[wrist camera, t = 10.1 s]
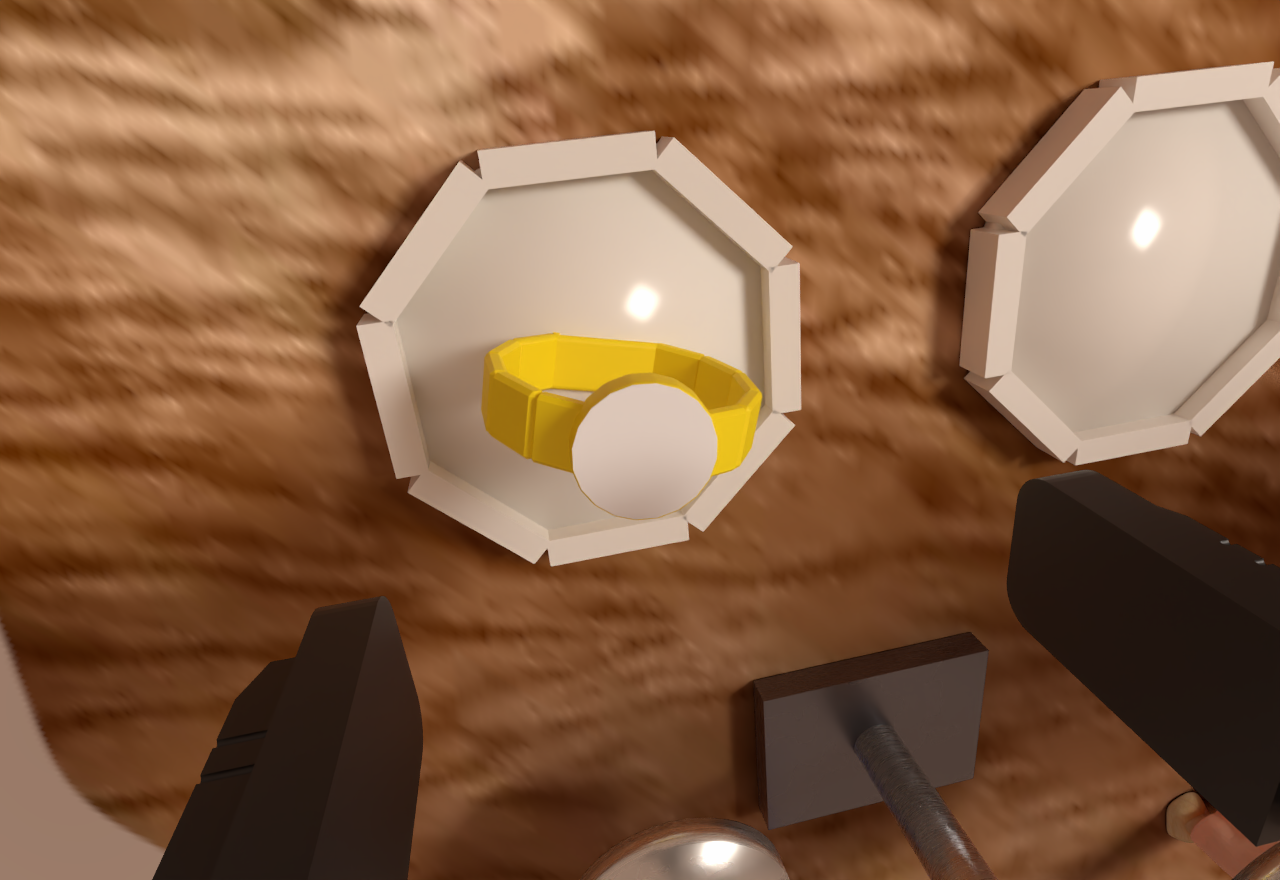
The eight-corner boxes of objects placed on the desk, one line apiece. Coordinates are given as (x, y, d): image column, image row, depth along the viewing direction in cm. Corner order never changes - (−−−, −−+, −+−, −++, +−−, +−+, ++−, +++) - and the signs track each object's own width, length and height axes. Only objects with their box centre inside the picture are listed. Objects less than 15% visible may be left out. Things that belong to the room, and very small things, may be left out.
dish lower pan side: (778, 115, 18) (797, 114, 17) (786, 499, 22) (802, 518, 21) (326, 166, 16) (314, 169, 15) (428, 566, 20) (425, 590, 19)
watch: (487, 403, 19) (464, 512, 13) (494, 296, 18) (472, 365, 12) (712, 423, 20) (778, 532, 14) (731, 323, 19) (810, 398, 13)
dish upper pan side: (1335, 53, 20) (1385, 49, 19) (1243, 412, 24) (1280, 426, 23) (982, 93, 18) (1012, 90, 17) (950, 467, 23) (974, 485, 22)
